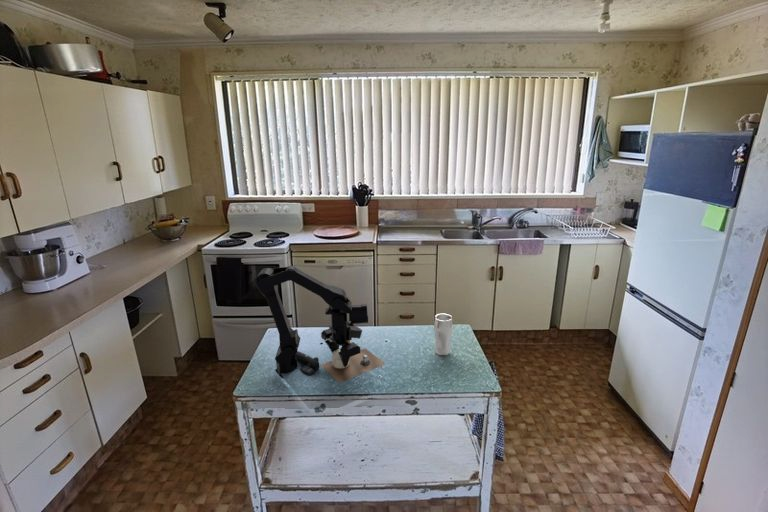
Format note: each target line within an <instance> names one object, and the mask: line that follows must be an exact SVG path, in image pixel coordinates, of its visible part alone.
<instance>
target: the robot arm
mask: <svg viewBox="0 0 768 512" xmlns="http://www.w3.org/2000/svg"><path fill="white" fill-rule="evenodd" d="M289 281H292V282H293V283H295V284H296V285H299V286H300V287H302V288H304V289H306V290H307V291H310V292H312V293H313V294H314V295H317V296H319V298H321V299H322V300H323V301H324V302H325V303H326V304H327V305H328V307H326V308H325V310H324V311H325V312H324V313H325V315H330V323H331V325H329V326H328V327H329V328H327V329H324V330H323V329H322V331H321V332H320V338H321V339H322V340H324V343H326V345H327V347H328V348H329V350H330V353H331V354H332V353H333V351H335V350H337V349H340V352H338V353H339V356H340V358H341V361H342V363H343V365H344V367H346V366H347V364H348V362H349V359H350V357H351V356H354V355H357V354H359V353H360V352H361V350H362V349H361V346H359V345H358V344H357V343H355V342H351V341H352V340H353V339H359V340H360V339H361V337H362V333H363V330H362V329H361V328H360V327H358V326H356V325H357V324H358V325H359V324H369V314H368V304H367V303H362V304H352V301H351V300H350V299H349V298H348V297H347V293H346V291H345V289H343V288H341V287H337V286H335V285H329V284H326V283H323V282H322V281H320V280H318V279H317V278H314V277H313V276H312V275H309V274H307V273H306V272H304V271H302V270H300V269H299V268H297V267H296V266H294V265H289V266H282V267H280V266H279V267H275V268H274V267H273V268H271V267H265V268H262V270H261V271H260V272H259V273H258V275H257V277H256V278H255V286H256V287H257V288H258V291H259V292H260V294H262V295H263V297H265V299H266V301H267V305H268V308H269V309H270V312H271V315H272V318H273V321H274V324H275V327H276V329H277V332H278V335H279V337H278V338H279V345H278V347H277V350H276V351H277V352H276V354H275V357H274V361H275V364H276V368H275V372H276V373H277V375H278V376H279V377H280V379H284V377H283V375H282V374H285V375H286V374H290V373H292V372H293V371H295V370H296V369H297V368H298V361H297V358H296V357H295V354H296V353H297V351H299V350H298V349H299V346H300V341H301V337H300V335H299V333H298V332H299V331H298V329H297V328H296V329H293V328H292V327H291V325H290V322H289V319H288V316H287V313H286V310H285V309H284V304H283V302H282V299H281V297H280V296H281V295H280V293H279V285H281V284H284V283H286V282H289ZM348 340H349V341H350V343H348V342H347V341H348Z"/></svg>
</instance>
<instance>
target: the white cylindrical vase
mask: <svg viewBox="0 0 768 512" xmlns="http://www.w3.org/2000/svg"><path fill="white" fill-rule="evenodd" d="M433 324H434V325H433V326H434V328H433V331H434V338H435V339H434V340H435V347H434V354H436V355H437V356H441V355H442V356H441V357H444V356H443V355H446V356H448V355H450V354H449V353H451V348H450V344H451V338H452V333H453V316H452V315H450V314H447V313H437V314H436V315H434V323H433Z"/></svg>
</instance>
